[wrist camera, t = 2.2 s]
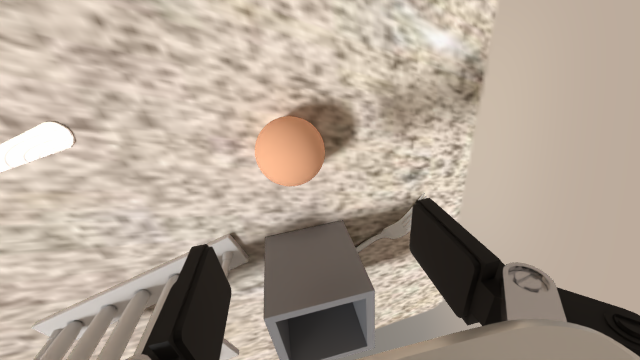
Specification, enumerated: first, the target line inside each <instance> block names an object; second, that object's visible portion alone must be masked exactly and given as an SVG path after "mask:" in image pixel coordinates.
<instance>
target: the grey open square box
mask: <svg viewBox="0 0 640 360" xmlns="http://www.w3.org/2000/svg"><path fill="white" fill-rule="evenodd" d="M264 321H265V324H266V326H267V329H268V331H269V334H270V336H271V339H272V341H273V344H274V346H275V349H276V351H277V354H278V356H279V359H280V360H335V359H339V358H342V357H346V356H349V355H353V354H356V353H360V352H363V351H367V350H370V349H374V348H375V290H374V288H373V286H372V283H371V281H370V279H369V277H368V275H367V272H366V270H365V268H364V266H363V264H362V261H361V259H360V257H359V255H358V253H357V250H356V248H355V246H354V244H353V242H352V239H351V237H350V235H349V233H348V231H347V228H346V226H345V224H344V222H343V220H342V221H337V222H333V223H328V224H324V225H319V226H315V227H310V228H305V229H301V230H296V231H292V232H287V233H283V234H278V235H274V236H269V237H265V270H264Z"/></svg>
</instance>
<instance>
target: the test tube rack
mask: <svg viewBox="0 0 640 360" xmlns="http://www.w3.org/2000/svg"><path fill="white" fill-rule="evenodd" d="M207 245H208V246H209V247H213V249H214V251H215V253H216V255H217V258H218V260H219V262H220V264H221V267H222V269H223V271H224V273H225V276H226V278H228V273H229V270H231V269H234V268H236V267H238V266H240V265H242V264H245V263H247V262H249V256H248V255H247V254H246V253H245V251H244V250H243V249H242V248H241V247H240V246H239V244H238V243H237V242H236V241H235V239H234V238H233V237H232V236H231V235H230V234H227V235H225V236H222V237H220V238H218V239H216V240H214V241H212V242H209V243H207ZM188 254H189V252H188V253H185V254H183V255H181V256H179V257H177V258H175V259H172V260H170V261H168V262H166V263H164V264H161V265H159V266H157V267H155V268H153V269H151V270H148V271H146V272H144V273H142V274H140V275H137V276H135V277H133V278H131V279H129V280H127V281H124V282H122V283H120V284H118V285H116V286H113V287H111V288H109V289H107V290H105V291H103V292H100V293H98V294H96V295H94V296H92V297H89V298H87V299H85V300H83V301H81V302H79V303H76V304H74V305H72V306H70V307H68V308H66V309H63V310H61V311H59V312H57V313H55V314H52V315H50V316H48V317H46V318H44V319H41V320H39V321H37V322H36V323H35V324H34V325H33V326H32V327H31V328H32V329H34V330H36V331H38V332H40V333H42V334H44V335H46V336H49V338H48V340H47V343H46V344H45V345H44V346H43V348H42V349H41V350H40V352H39V353H38V354H37V355H36V357H35V358H34V359H33V360H62V359H63V357H64V356H65V354H66V353H67V351H68V350H69V348H70V347H71V345H72V344H73V342H74V341H75V340H77V339H80V340H79V341H78V343H77V344H76V346H75V347H74V349H73V350H72V352H71V353H70V355H69V356H68V358H67V359H66V360H89V359H90V357H91V355H92V354H93V352H94V350H95V348H96V347H97V345H98V343H99V342H100V340H101V338H102V337H103V335H104V333H105V332H106V330H107V328H108V326H109V325H110V324H113V323H115V322H117V321H118V323H117V325H116V326H115V328H114V330H113V332H112V333H111V335H110V337H109V339H108V340H107V342H106V344H105V346H104V347H103V349H102V351H101V353H100V355H99V356H98V358H97V360H120V358H121V356H122V354H123V352H124V350H125V348H126V346H127V344H128V342H129V340H130V338H131V336H132V334H133V332H134V329H135V327H136V325H137V323H138V321H139V319H140V317H141V315H142V313H143V311H144V309H146V308H148V307H150V306H152V305H154V304H156V306H155V309H154V311H153V313H152V315H151V318H150V320H149V322H148V324H147V326H146V329H145V331H144V333H143V335H142V337H141V340H140V342H139V344H138V346H137V349H136V351H135V353H134V355H140V354H141V353H142V351H143V349H144V347H145V344H146V342H147V340H148V338H149V335H150V333H151V331H152V329H153V327H154V324H155V322H156V320H157V318H158V316H159V313H160V311H161V309H162V307H163V304H164V302H165V300H166V298H167V296H168V293H169V291H170V289H171V287H172V285H173V284H174V283H175V282H176V281H177V279H178V277H179V274H180V272H181V270H182V268H183V265H184V263H185V261H186V258H187V256H188ZM134 355H133V356H134ZM238 355H239V350H238V349H237V348H236V347H235V346H233V345H232V344H231V343H229V342H228V341H227V340H226V339H224V338H223V343H222V349H221V354H220V360H229V359H231V358H233V357H236V356H238Z"/></svg>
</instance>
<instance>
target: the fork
mask: <svg viewBox="0 0 640 360" xmlns="http://www.w3.org/2000/svg"><path fill="white" fill-rule="evenodd" d="M424 194H425V193H423V194H422V195H421V196H420V198H419V199H418V200H421V199H422V197H423V196H424ZM426 197H427V196H425V197H424V198H423V199H425V198H426ZM412 208H413V206H412ZM412 208H411V209H410V210H409V211H408V212H407V213H406V214H405V215H404V216H403V217H402V218H401V219H400V220H399V221H398V222H396V223H394V224H392V225H390V226H388V227H386V228H384V229H383V231H382V232H381V233H380V234H378V235H375V236H373V237H372V238H370V239H368V240H367V241H365V242H363V243H362V244H360V245H359V246H357V247H356V250H357V253H359V252H360V251H361V250H363V249H364V248H365V247H367V246H368V245H370V244H371V243H373V242H374V241H376V240H378V239H381V238H390V239H398V238H400V237H403V236H404V235H406V234H407V233H408V232H409V231H410V230H411V225H410V224H411V220H412V219H411V218H412V214H411V213H412ZM410 214H411V215H410ZM409 215H410V216H409ZM408 216H409V217H408ZM407 217H408V218H407ZM406 218H407V219H406ZM410 219H411V220H410ZM409 220H410V221H409ZM408 221H409V222H408Z"/></svg>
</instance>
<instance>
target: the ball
mask: <svg viewBox="0 0 640 360" xmlns="http://www.w3.org/2000/svg"><path fill="white" fill-rule="evenodd" d="M255 157H256V161H257V164H258V166H259V168H260V170H261V171H262V173H263V174H264V175H265V176H266V177H267V178H268V179H270V180H271V181H273V182H275V183H277V184H280V185H284V186H298V185H301V184H304V183H306V182H308V181H310V180H311V179H312V178H313V177H315V175H316V174H317V173H318V172H319V170H320V169H321V167H322V164H323V162H324V158H325V146H324V142H323V139H322V137H321V135H320V133H319V132H318V130H317V129H316V128H315V127H314V126H313V125H312V124H311V123H309V122H308V121H306V120H304V119H302V118H298V117H293V116H286V117H280V118H277V119H275V120H273V121H271V122H270V123H268V124H267V125H266V126H265V127H264V128H263V129H262V130H261V132H260V134H259V135H258V138H257V141H256V145H255Z"/></svg>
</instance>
